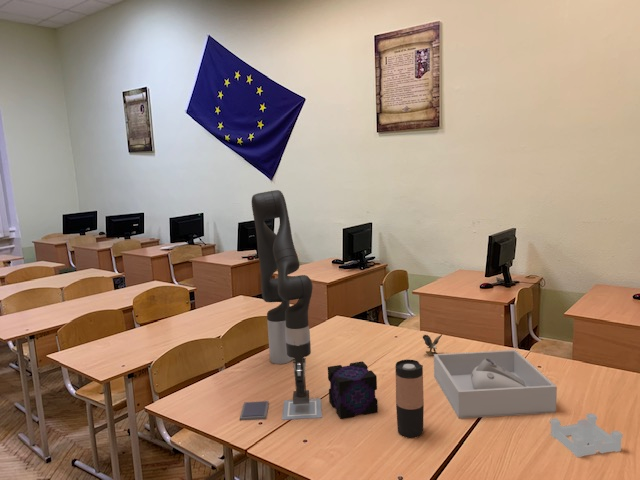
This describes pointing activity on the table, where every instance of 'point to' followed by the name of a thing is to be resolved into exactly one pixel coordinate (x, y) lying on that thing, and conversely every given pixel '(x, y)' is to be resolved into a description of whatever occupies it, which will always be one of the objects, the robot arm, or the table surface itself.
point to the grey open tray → (498, 401)
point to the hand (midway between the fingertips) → (301, 392)
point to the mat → (302, 410)
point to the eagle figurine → (431, 344)
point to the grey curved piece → (493, 377)
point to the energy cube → (352, 390)
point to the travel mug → (409, 398)
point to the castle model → (586, 437)
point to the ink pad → (254, 410)
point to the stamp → (301, 399)
